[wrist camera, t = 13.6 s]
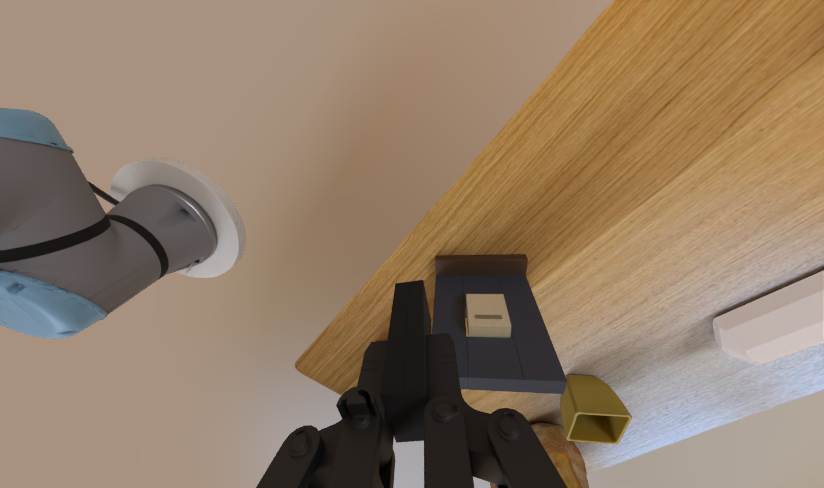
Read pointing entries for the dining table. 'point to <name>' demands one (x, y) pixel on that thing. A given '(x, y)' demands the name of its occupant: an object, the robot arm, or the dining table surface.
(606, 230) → the dining table surface
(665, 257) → the dining table surface
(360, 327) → the dining table surface
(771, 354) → the crystal
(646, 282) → the dining table surface
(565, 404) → the flower pot
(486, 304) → the switch
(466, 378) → the switch plate
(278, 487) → the robot arm
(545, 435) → the rough brown rock
